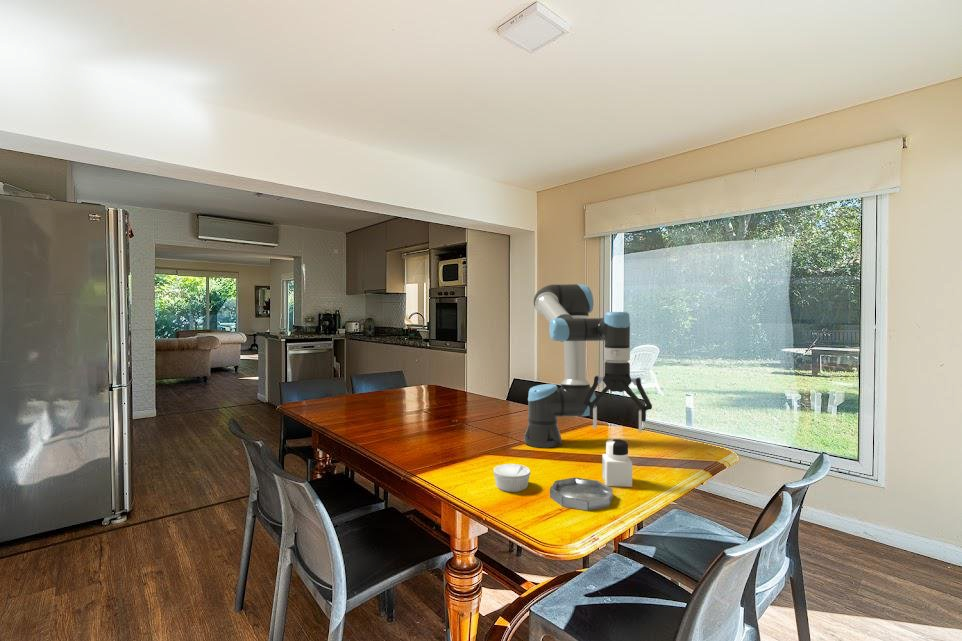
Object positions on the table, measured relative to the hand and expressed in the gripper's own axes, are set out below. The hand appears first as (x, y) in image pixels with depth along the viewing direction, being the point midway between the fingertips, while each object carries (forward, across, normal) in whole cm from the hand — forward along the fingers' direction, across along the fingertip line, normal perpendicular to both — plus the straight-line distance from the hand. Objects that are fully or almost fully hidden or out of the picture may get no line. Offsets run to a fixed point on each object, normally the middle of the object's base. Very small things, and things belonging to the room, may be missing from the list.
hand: (617, 429), depth 141 cm
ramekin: (+17, -29, -16) cm, 37 cm away
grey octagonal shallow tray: (+16, -8, -16) cm, 24 cm away
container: (+17, 0, 0) cm, 17 cm away
